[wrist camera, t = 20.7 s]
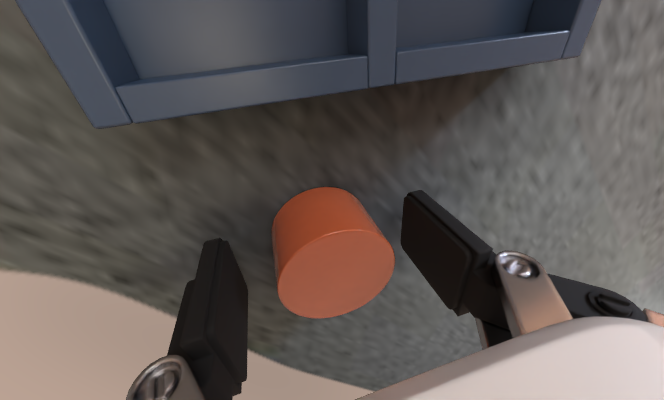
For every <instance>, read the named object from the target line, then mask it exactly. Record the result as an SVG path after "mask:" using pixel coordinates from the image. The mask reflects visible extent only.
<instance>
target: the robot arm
mask: <svg viewBox="0 0 664 400" xmlns="http://www.w3.org/2000/svg"><path fill="white" fill-rule="evenodd" d="M401 246H402V248H403V250H404V251H405V252H406V254H407V255H408V256H409V258H410V259H411V260H412V262H413V263H414V264H415V265H416V267H417V268H418V269H419V271H420V272H421V273H422V275H423V276H424V277H425V279H426V280H427V281H428V283H429V284H430V285H431V287H432V288H433V289H434V290H435V292H436V293H437V294H438V296H439V297H440V298H441V300H442V301H443V302H444V304H445V305H446V306H447V307H448V308H449V309H453V310H454V312H455V313H456V314H457V316H460V315H463V314H466V313H469V312H470V313H471V314H472V315H473V316H474V317H475V320H476V324H477V329H478V333H479V337H480V341H481V346H482V350H481V351H479V352H476V353H473V354H471V355H468V356H466V357H463V358H460V359H458V360H455V361H453V362H450V363H447V364H445V365H442V366H440V367H437V368H435V369H432V370H430V371H427V372H424V373H422V374H419V375H417V376H414V377H412V378H409V379H406V380H404V381H401V382H399V383H396V384H394V385H391V386H389V387H386V388H383V389H381V390H378V391H376V392H373V393H371V394H368V395H366V396H363V397H361V398H358V399H355V400H664V315H663V314H660V313H657V312H654V311H651V310H648V309H646V308H645V309H644V310H643V311H641V309H640V308H638V307H637V306H636V305H635V304H634V303H633V302H631V301H630V300H628V299H627V298H625V297H624V296H622V295H619V294H617V293H615V292H613V291H610V290H607V289H604V288H600V287H596V286H592V285H589V284H585V283H581V282H577V281H574V280H570V279H566V278H562V277H559V276H555V275H551V274H547V273H546V271H545V269H544V268H543V266H542V265H541V264H540V263H539V262H538V261H536V260H535V259H534V258H532V257H530V256H528V255H526V254H523V253H521V252H516V251H502V252H499V253H498V254H497V255H496V254H495V253H494V252H493V251H492V250H493V249H492V248H491V247H490V246H489V245H487V244H486V243H485V242H484V241H483V240H481V239H480V238H479V237H478V236H477V235H475V234H474V233H473V232H472V231H471V230H469V229H468V228H467V227H466V226H465V225H463V224H462V223H461V222H460V221H459V220H457V219H456V218H455V217H454V216H452V215H451V214H450V213H449V212H448V211H446V210H445V209H444V208H443V207H442V206H440V205H439V204H438V203H437V202H436V201H434V200H433V199H432V198H431V197H430V196H428V195H427V194H426V193H425V192H423V191H422V190H418V191H414V192H410V193H408V194H407V197H405V198H404V205H403V217H402V229H401ZM247 326H248V289H247V285H246V282H245V280H244V278H243V276H242V273H241V271H240V269H239V266H238V264H237V262H236V259H235V257H234V255H233V252H232V250H231V248H230V245H229V243H228V241H222V239H221V238H218V239H214V240H210V241H206V242H204V245H203V249H202V253H201V257H200V261H199V265H198V269H197V274H196V278H195V280H191V281H189V282H188V283H187V285H186V288H185V291H184V295H183V299H182V302H181V306H180V310H179V313H178V317H177V321H176V324H175V328H174V332H173V335H172V340H171V343H170V347H169V350H168V354H167V356H165V357H162V358H160V359H158V360H156V361H155V362H153V363H151V364H150V365H149V366H148V367H147V368H145V369H144V370H143V371H142V372H141V374H140V375H139V376H138V377H137V378H136V379H135V381H134V382H133V384H132V386H131V388H130V389H129V392H128V395H127V397H126V400H232V396H234V395H237V394H240V393H241V385H242V382H244V381H246V379H247Z"/></svg>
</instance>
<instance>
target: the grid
mask: <svg viewBox="0 0 664 400" xmlns="http://www.w3.org/2000/svg"><path fill="white" fill-rule="evenodd" d="M15 1H16V3H17V5H18V6H19V8H20V9H21V11H22V13H23V14H24V16H25V17H26V19H27V21H28V22H29V24H30V26H31V27H32V29H33V30H34V32H35V34H36V35H37V37H38V38H39V40H40V42H41V43H42V45H43V46H44V48H45V50H46V51H47V53H48V55H49V56H50V58H51V59H52V61H53V63H54V64H55V66H56V67H57V69H58V71H59V72H60V74H61V75H62V77H63V79H64V80H65V82H66V83H67V85H68V87H69V88H70V90H71V92H72V93H73V95H74V96H75V98H76V100H77V101H78V103H79V104H80V106H81V108H82V109H83V111H84V112H85V114H86V116H87V117H88V119H89V121H90V122H91V124H92V125H93V127H94V128H97V129H102V128H109V127H116V126H122V125H129V124H132V123H133V122H134V123H144V122H151V121H157V120H164V119H170V118H177V117H184V116H190V115H197V114H204V113H210V112H217V111H224V110H230V109H237V108H243V107H250V106H257V105H263V104H270V103H277V102H283V101H290V100H297V99H303V98H310V97H317V96H323V95H330V94H336V93H343V92H350V91H356V90H363V89H367V88H376V87H382V86H389V85H393V84H403V83H409V82H416V81H422V80H429V79H436V78H442V77H449V76H456V75H462V74H469V73H476V72H482V71H489V70H495V69H502V68H509V67H515V66H522V65H529V64H535V63H542V62H549V61H555V60H561V59H568V58H575V57H578V56H579V55H580V53H581V51H582V48H583V46H584V43H585V41H586V38H587V36H588V33H589V31H590V28H591V26H592V23H593V21H594V18H595V16H596V13H597V11H598V8H599V5H600V3H601V0H15Z"/></svg>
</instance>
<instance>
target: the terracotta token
mask: <svg viewBox="0 0 664 400" xmlns="http://www.w3.org/2000/svg"><path fill="white" fill-rule="evenodd" d="M271 237H272V246H273V256H274V265H275V274H276V283H277V291H278V296H279V298H280V300H281V302H282V303H283V305H284V306H285V307H286V308H287V309H288V310H290V311H291V312H293V313H295V314H297V315H300V316H303V317H308V318H329V317H335V316H339V315H343V314H346V313H348V312H351V311H353V310H355V309H357V308H359V307H361V306H363V305H364V304H366V303H368V302H369V301H370V300H372V299H373V298H374V297H375V296H376V295H378V294H379V293H380V292H381V290H382V289H383V288H384V287H385V286H386V284H387V283H388V281H389V280H390V278H391V276H392V273H393V270H394V266H395V255H394V251H393V249H392V246H391V245H390V243H389V242H388V241H387V239H386V238H385V236H384V235H383V234H382V232H381V231H380V229H379V228H378V227H377V225H376V224H375V222H374V221H373V219H372V218H371V217H370V215H369V214H368V212H367V211H366V210H365V208H364V207H363V205H362V204H361V203H360V201H359V200H358V199H357V198H356V197H355V196H354V195H352V194H351V193H349V192H347V191H345V190H342V189H339V188H334V187H319V188H313V189H310V190H307V191H304V192H302V193H300V194H298V195H296V196H294V197H293V198H292V199H290V200H289V201H288V202H287V203H285V204H284V205H283V207H282V208H281V209H280V210H279V212H278V213H277V215H276V217H275V219H274V221H273V224H272V230H271Z"/></svg>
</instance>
